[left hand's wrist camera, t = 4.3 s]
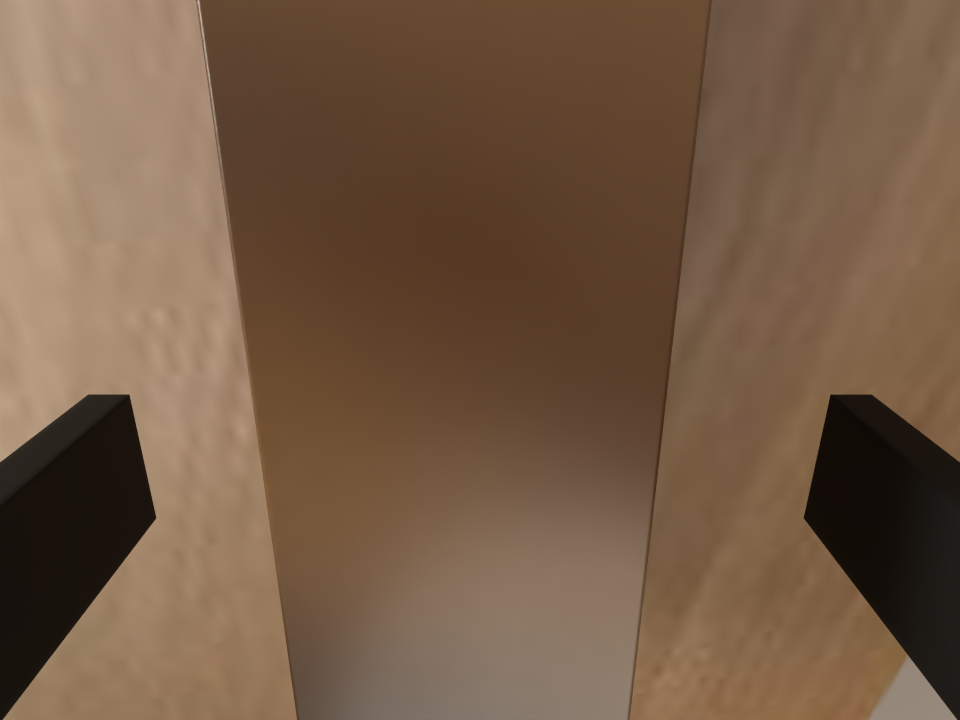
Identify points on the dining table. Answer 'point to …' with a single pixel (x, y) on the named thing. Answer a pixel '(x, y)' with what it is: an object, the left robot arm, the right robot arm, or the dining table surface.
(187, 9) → the dining table surface
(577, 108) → the post
